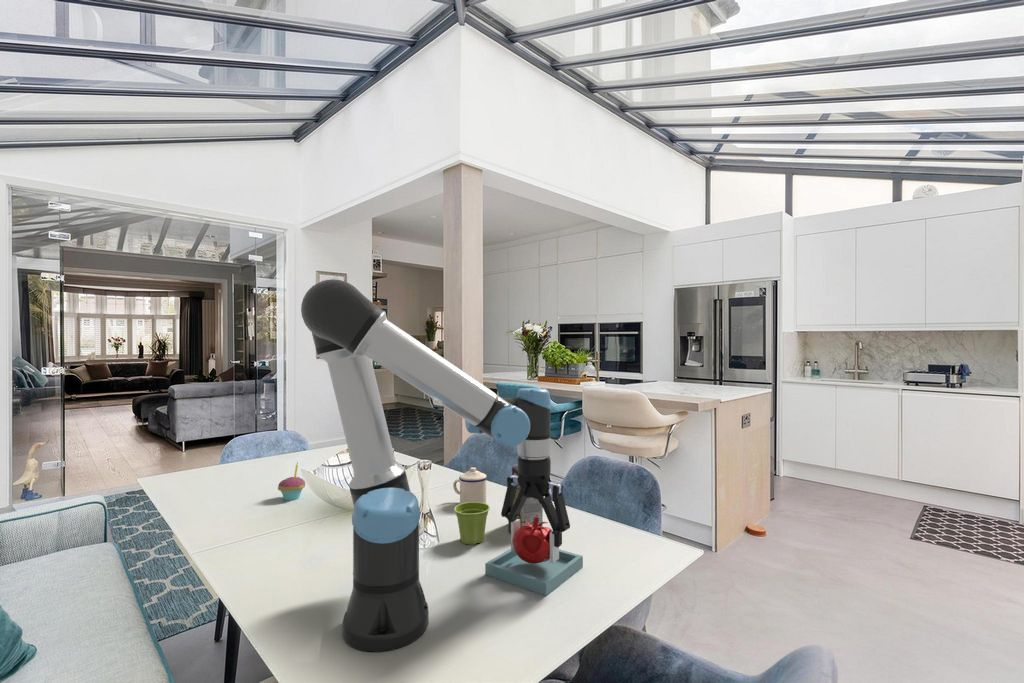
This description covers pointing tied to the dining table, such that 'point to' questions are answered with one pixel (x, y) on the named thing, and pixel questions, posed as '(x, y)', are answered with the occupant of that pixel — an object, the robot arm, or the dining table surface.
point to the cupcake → (292, 486)
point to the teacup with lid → (471, 486)
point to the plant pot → (472, 521)
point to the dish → (534, 571)
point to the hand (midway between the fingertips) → (534, 554)
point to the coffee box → (528, 506)
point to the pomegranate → (533, 542)
